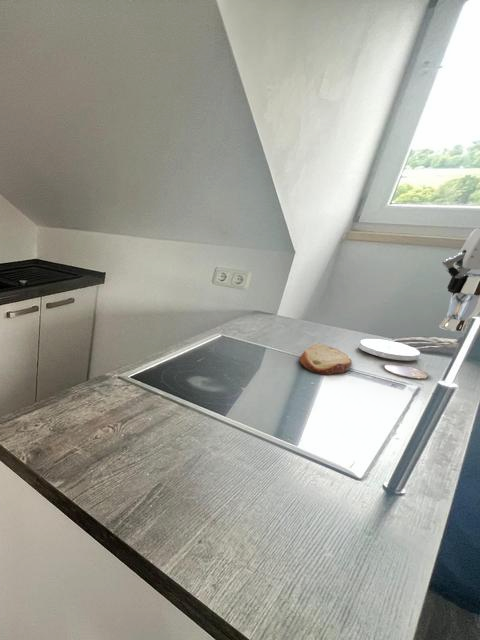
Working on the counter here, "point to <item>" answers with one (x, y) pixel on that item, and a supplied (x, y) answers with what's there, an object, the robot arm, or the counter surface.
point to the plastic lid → (389, 349)
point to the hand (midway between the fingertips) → (471, 293)
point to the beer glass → (463, 304)
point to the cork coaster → (405, 371)
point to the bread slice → (325, 360)
